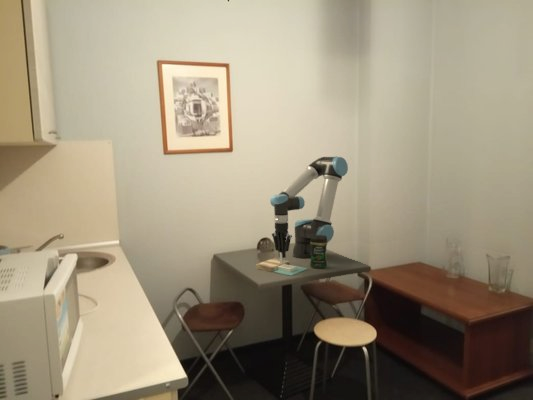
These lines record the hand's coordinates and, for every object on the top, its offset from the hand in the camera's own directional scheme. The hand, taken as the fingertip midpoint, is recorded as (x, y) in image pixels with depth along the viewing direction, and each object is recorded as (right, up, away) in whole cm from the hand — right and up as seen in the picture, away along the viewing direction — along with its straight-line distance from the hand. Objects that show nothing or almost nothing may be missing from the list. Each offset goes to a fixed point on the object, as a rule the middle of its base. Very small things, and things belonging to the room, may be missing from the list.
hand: (282, 263), depth 228 cm
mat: (+4, -4, -3) cm, 7 cm away
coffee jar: (+21, -3, +2) cm, 22 cm away
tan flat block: (-5, -3, +5) cm, 8 cm away
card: (+3, -3, -2) cm, 5 cm away
